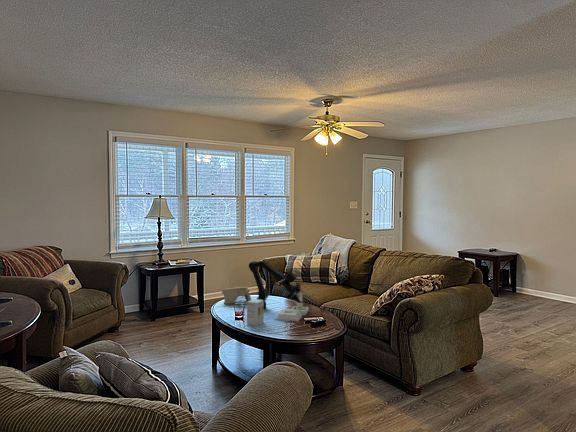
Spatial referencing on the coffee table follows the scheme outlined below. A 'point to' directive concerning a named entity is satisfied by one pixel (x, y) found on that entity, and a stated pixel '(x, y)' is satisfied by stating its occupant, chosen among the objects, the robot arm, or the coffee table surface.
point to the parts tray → (302, 312)
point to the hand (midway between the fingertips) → (301, 301)
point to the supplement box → (255, 312)
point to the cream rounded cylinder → (299, 305)
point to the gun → (236, 295)
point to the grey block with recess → (288, 315)
